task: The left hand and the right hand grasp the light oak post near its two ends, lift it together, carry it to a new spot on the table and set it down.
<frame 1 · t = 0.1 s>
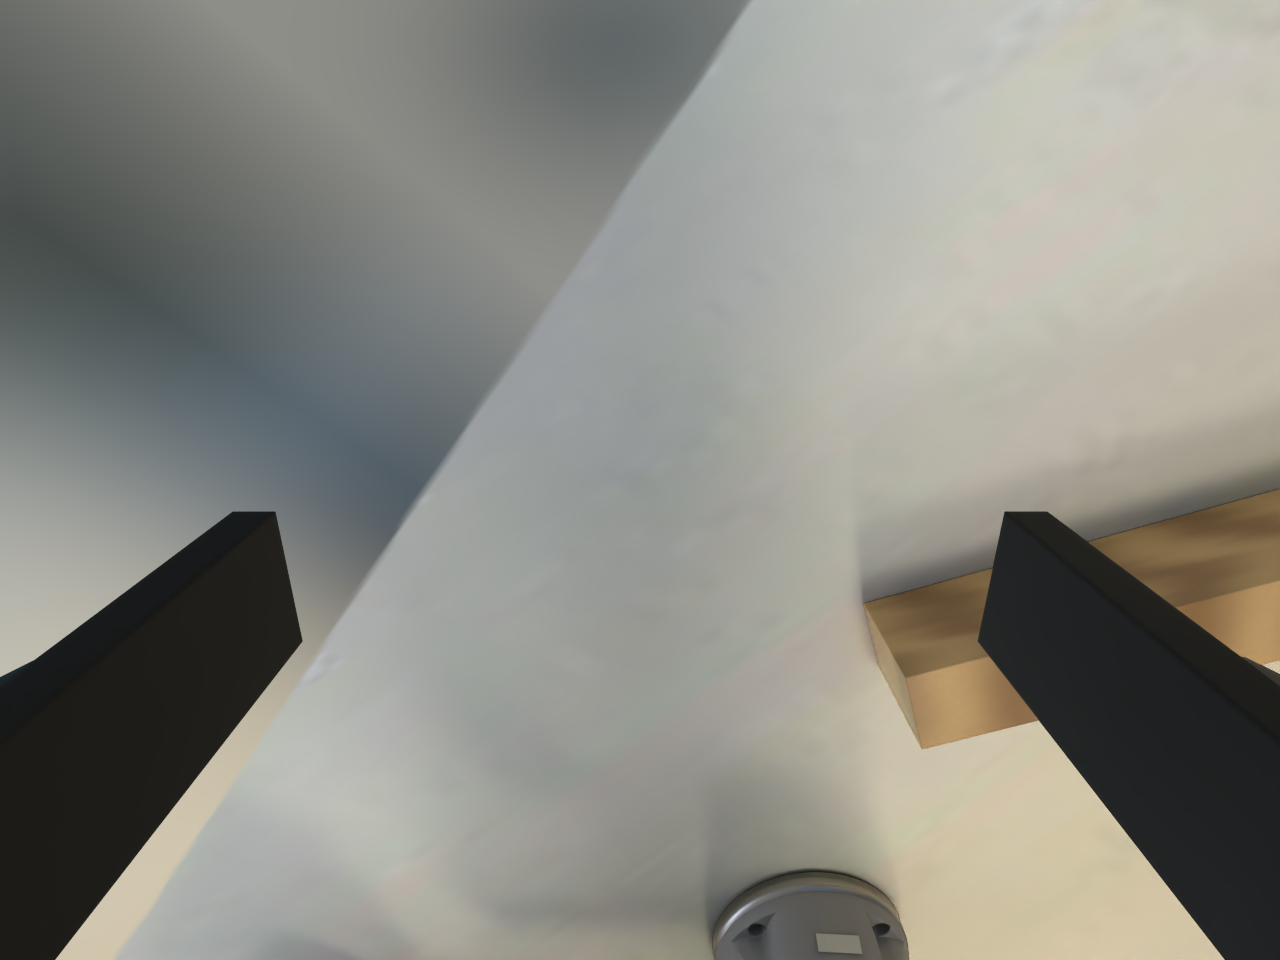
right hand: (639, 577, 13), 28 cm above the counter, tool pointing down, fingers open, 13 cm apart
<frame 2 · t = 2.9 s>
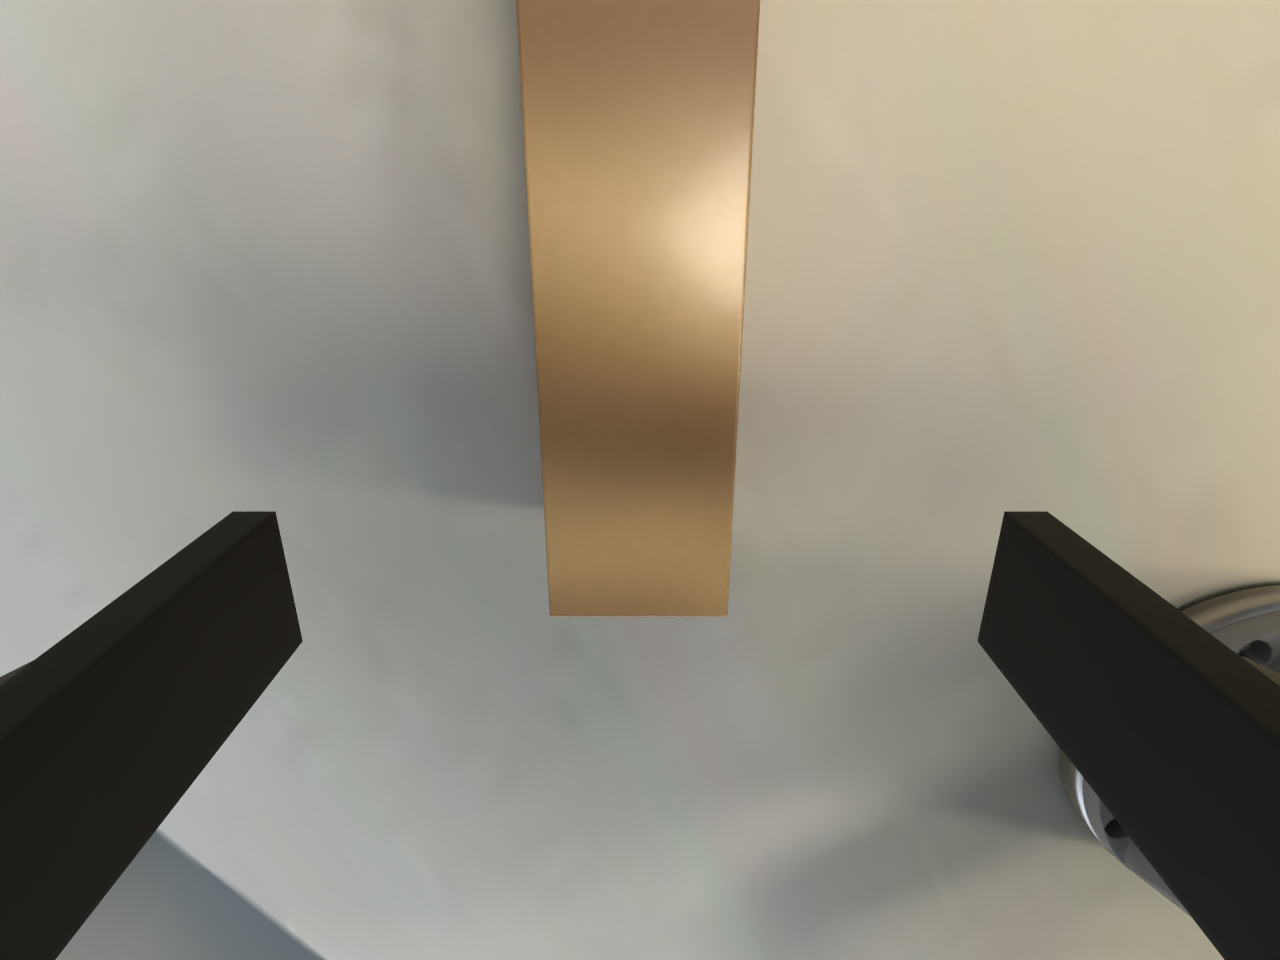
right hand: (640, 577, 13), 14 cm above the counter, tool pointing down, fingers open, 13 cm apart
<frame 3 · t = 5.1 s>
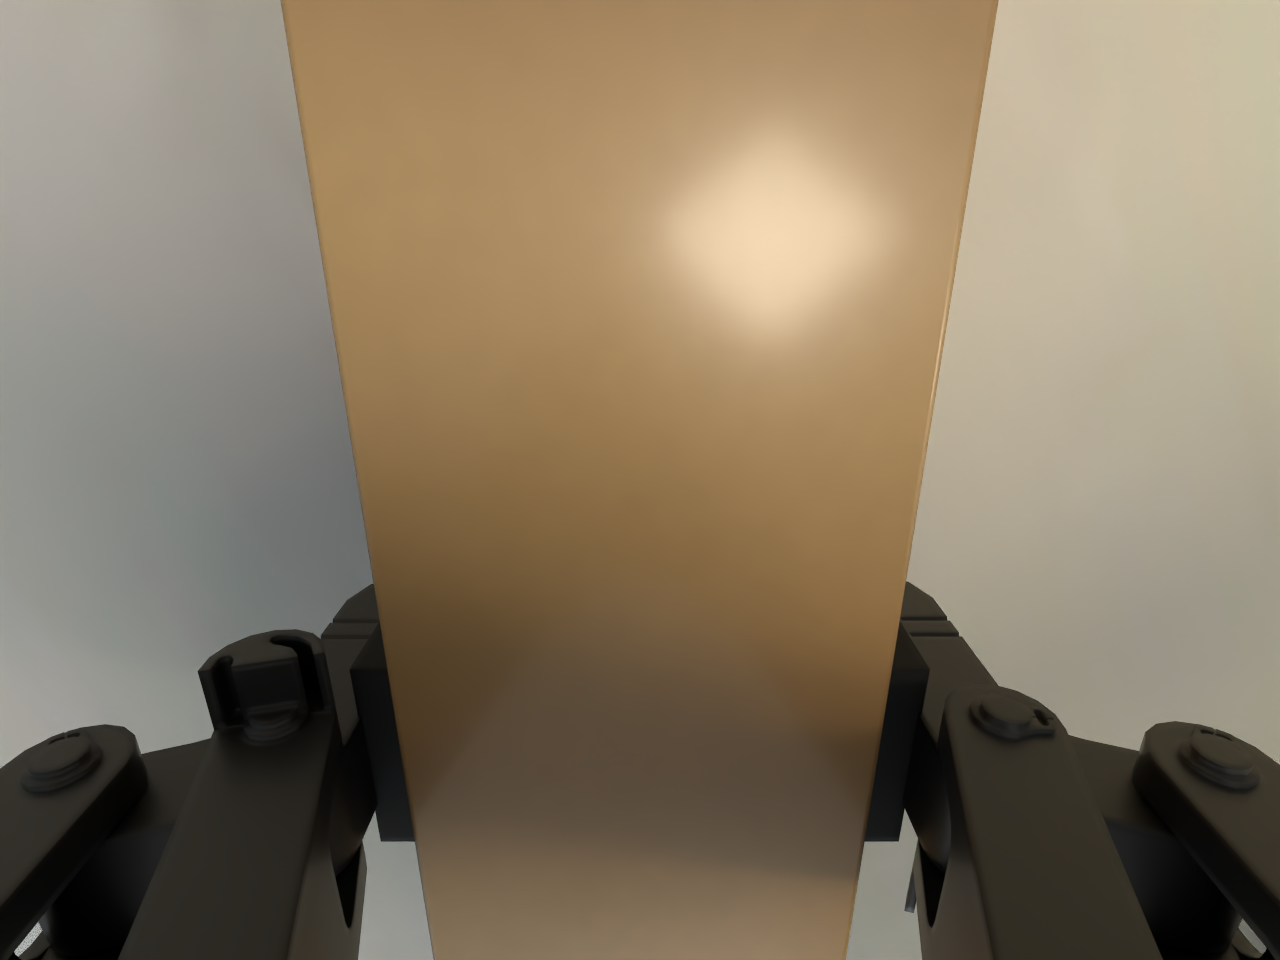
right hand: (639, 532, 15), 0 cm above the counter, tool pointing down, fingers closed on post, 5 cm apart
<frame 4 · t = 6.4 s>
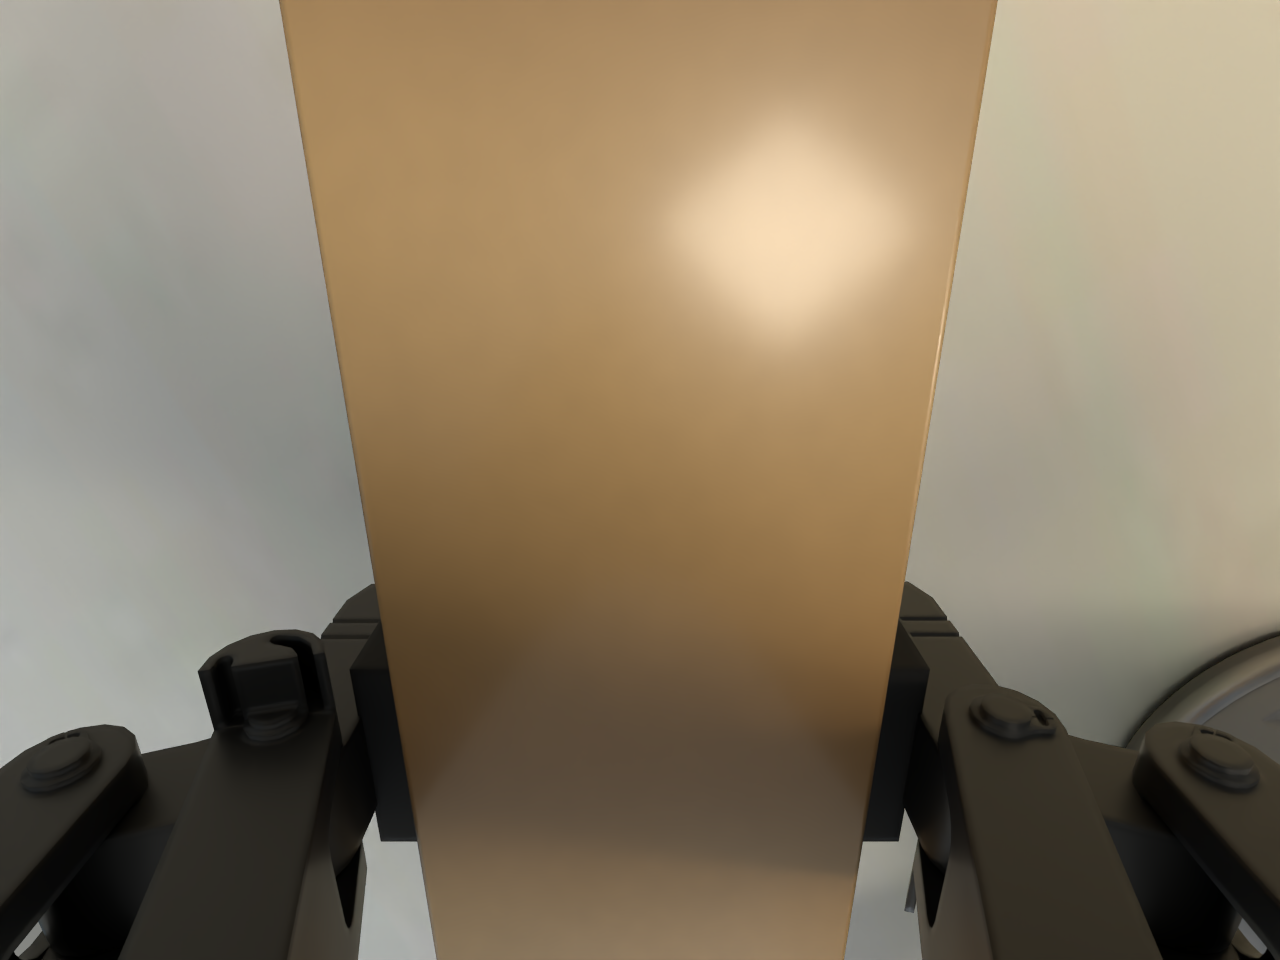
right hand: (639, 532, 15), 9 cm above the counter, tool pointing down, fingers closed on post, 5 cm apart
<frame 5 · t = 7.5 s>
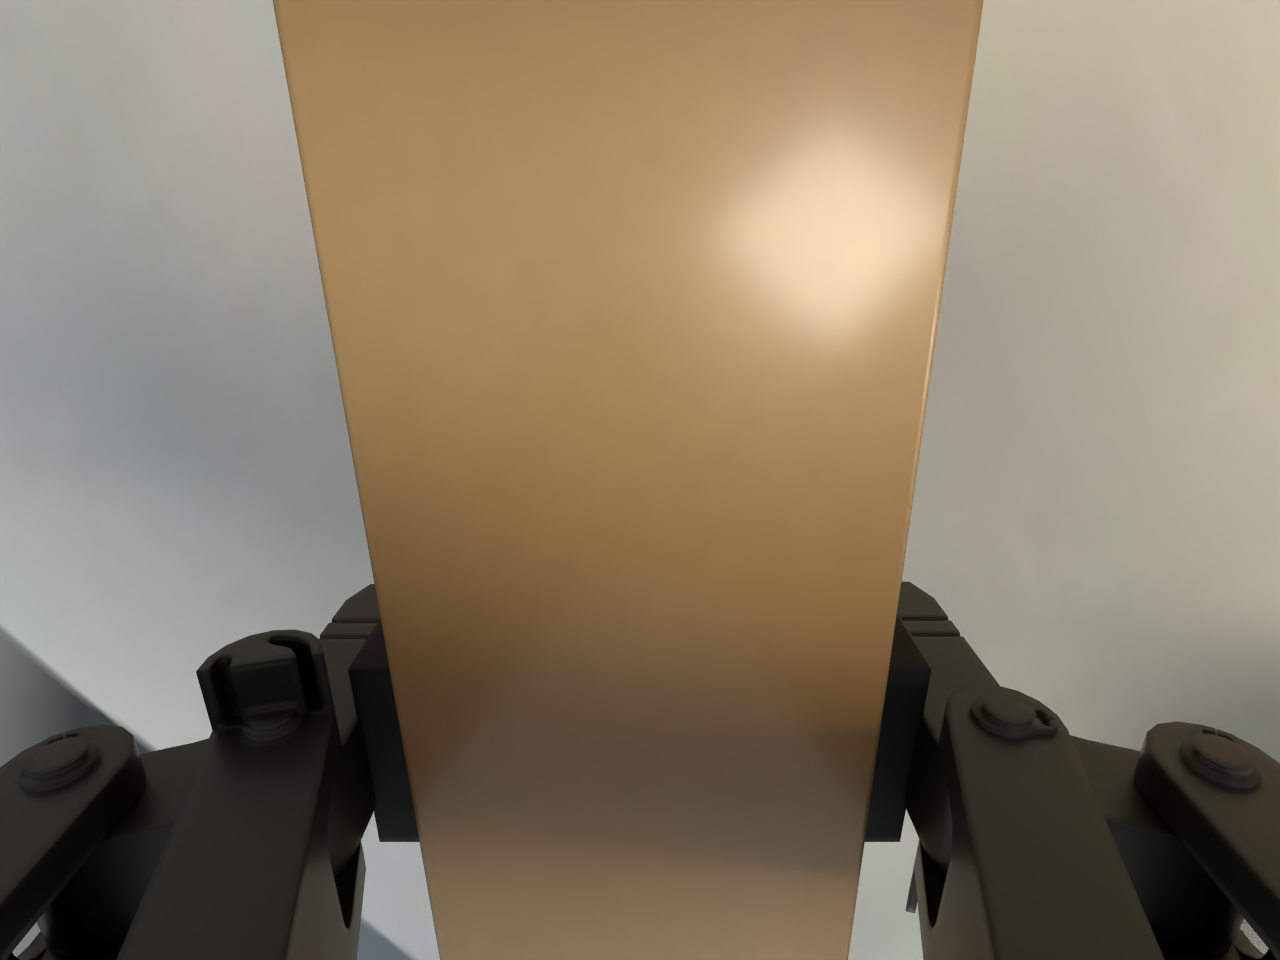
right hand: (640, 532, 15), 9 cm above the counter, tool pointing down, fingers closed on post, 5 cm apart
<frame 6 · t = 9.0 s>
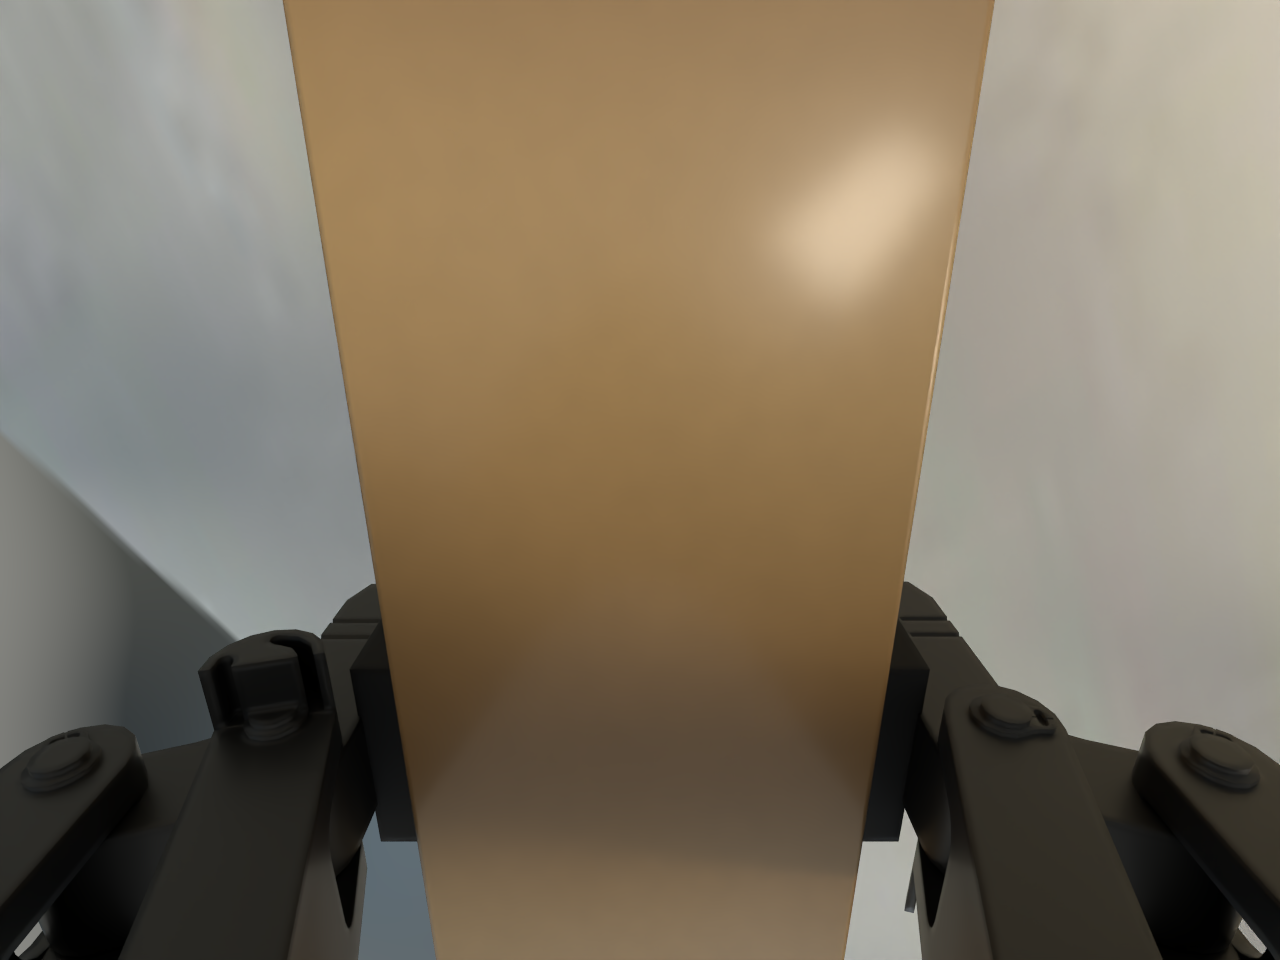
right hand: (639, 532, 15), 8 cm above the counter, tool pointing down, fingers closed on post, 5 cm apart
when the left hand's fingers open (1 cm above the counter, at t = 10.1 s): post stays where it is, on the counter.
when the right hand's fingers open (2 cm above the counter, at t = 10.1 s): post stays where it is, on the counter.
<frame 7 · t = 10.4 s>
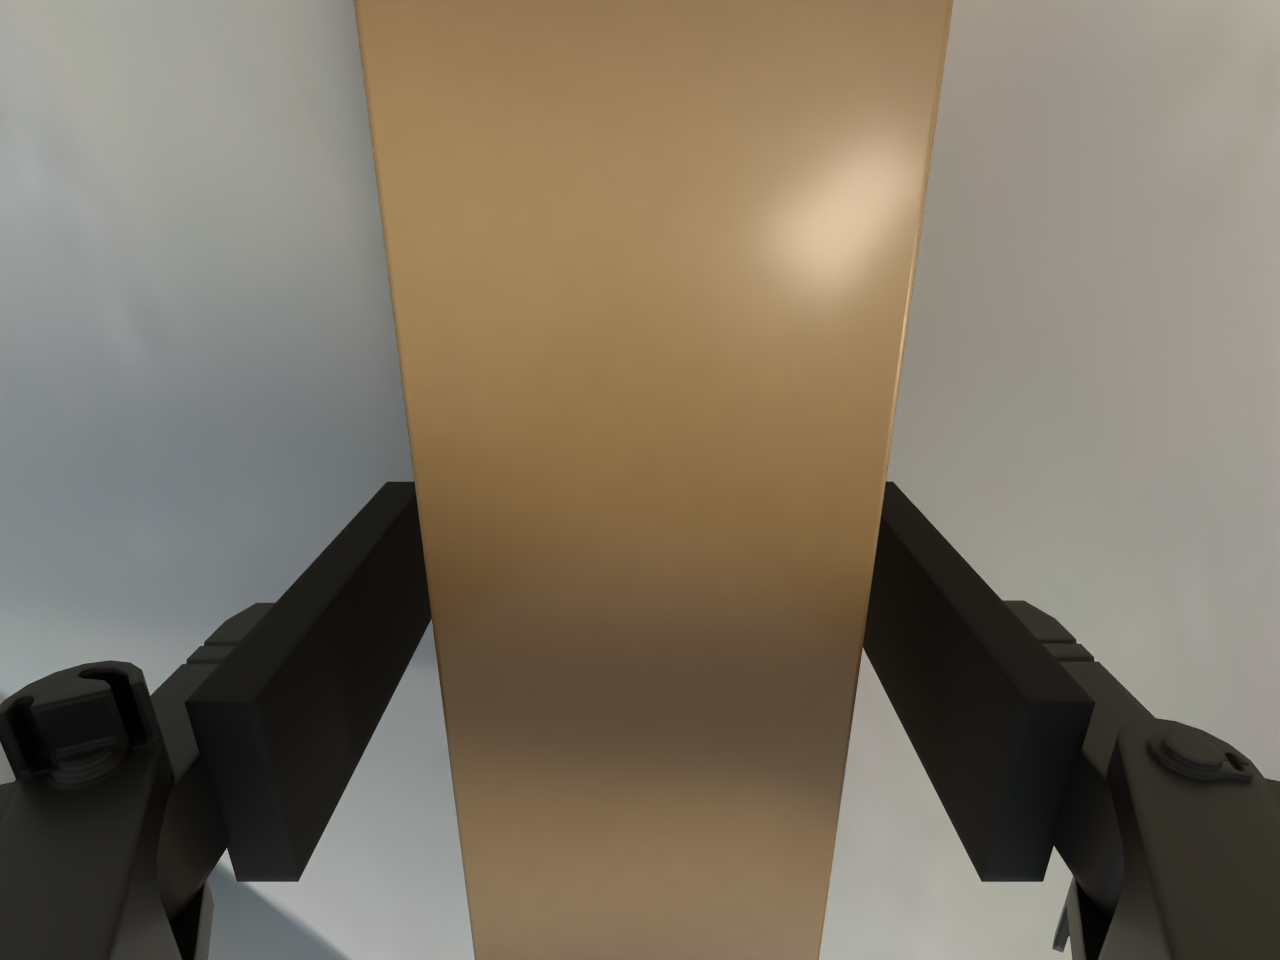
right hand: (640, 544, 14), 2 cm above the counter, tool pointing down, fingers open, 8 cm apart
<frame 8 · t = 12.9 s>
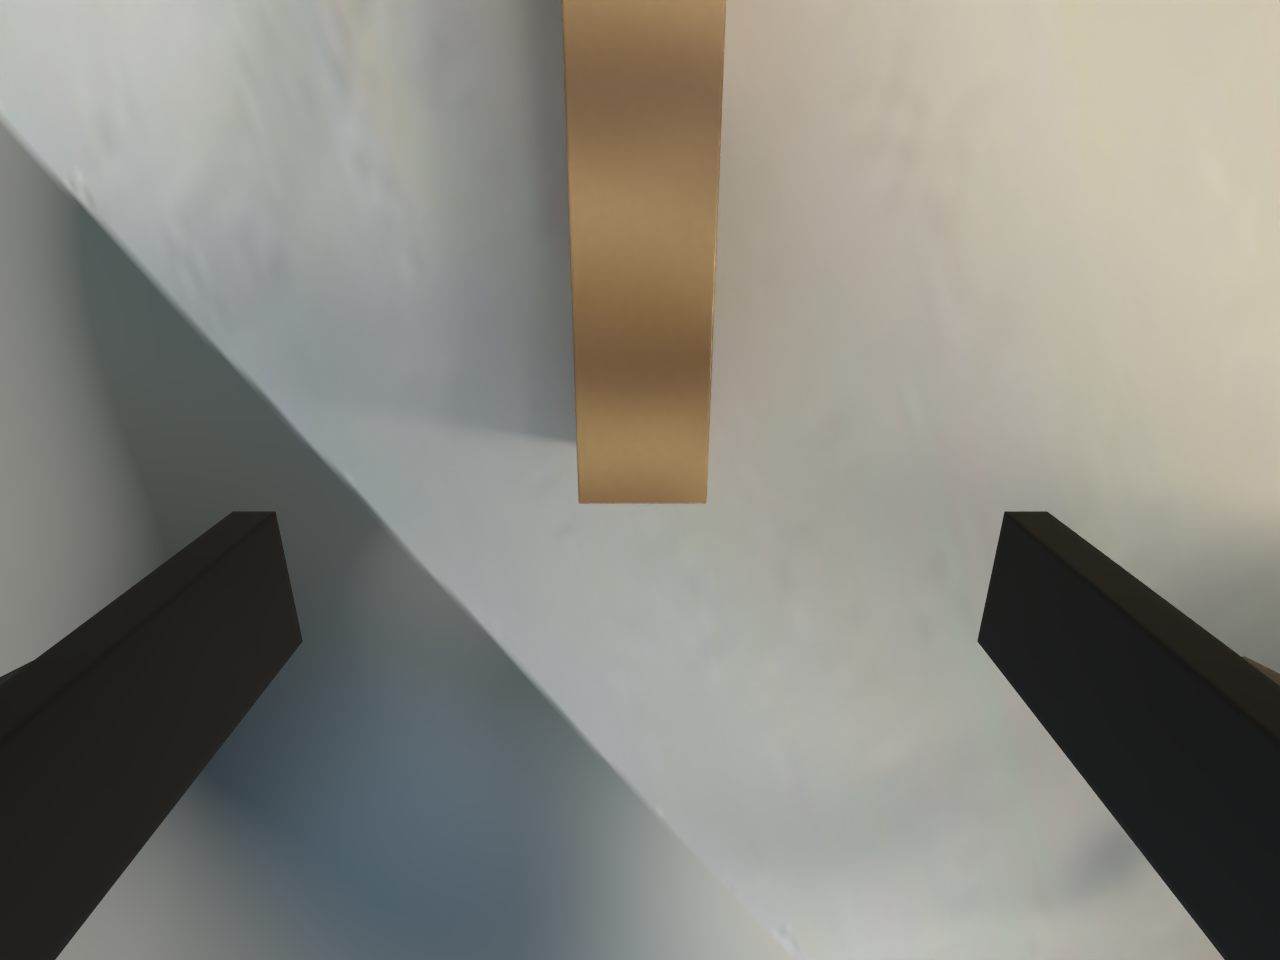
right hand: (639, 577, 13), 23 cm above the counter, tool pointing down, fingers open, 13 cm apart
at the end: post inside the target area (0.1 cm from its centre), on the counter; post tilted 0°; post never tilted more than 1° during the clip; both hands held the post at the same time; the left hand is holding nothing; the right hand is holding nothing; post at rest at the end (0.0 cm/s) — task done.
